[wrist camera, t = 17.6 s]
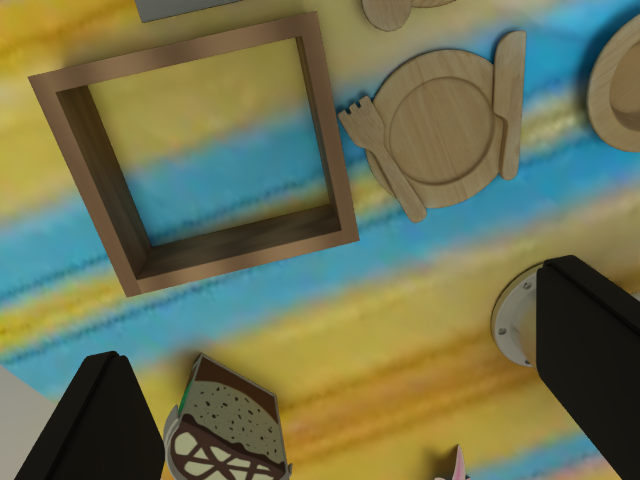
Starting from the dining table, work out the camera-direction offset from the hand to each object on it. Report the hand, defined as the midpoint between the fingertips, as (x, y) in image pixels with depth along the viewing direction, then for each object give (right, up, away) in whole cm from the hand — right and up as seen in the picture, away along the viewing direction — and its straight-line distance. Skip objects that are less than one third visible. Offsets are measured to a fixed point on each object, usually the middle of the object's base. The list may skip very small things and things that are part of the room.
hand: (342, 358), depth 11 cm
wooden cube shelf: (-9, +10, +28) cm, 31 cm away
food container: (-11, -13, +38) cm, 42 cm away
